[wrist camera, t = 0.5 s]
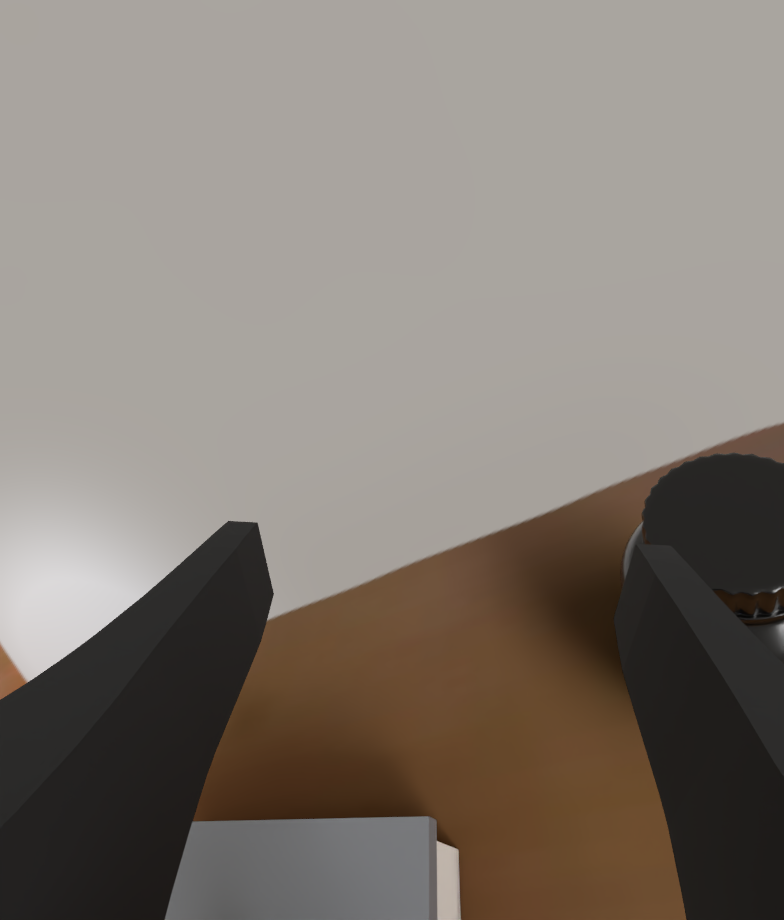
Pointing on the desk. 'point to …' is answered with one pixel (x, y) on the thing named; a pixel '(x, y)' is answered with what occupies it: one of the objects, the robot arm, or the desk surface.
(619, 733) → the desk surface
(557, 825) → the desk surface
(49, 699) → the robot arm
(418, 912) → the gray lid
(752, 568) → the supplement bottle
